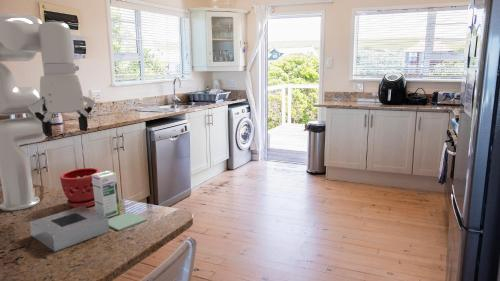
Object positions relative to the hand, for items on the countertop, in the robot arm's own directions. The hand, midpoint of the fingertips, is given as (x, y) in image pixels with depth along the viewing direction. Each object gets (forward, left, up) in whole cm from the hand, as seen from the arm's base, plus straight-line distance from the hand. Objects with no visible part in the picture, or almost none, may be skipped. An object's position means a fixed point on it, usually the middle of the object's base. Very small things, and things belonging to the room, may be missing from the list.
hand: (66, 133), depth 106 cm
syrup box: (-10, +15, -31) cm, 36 cm away
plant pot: (-27, +15, -31) cm, 44 cm away
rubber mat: (0, +15, -31) cm, 35 cm away
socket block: (-5, 0, -31) cm, 32 cm away
